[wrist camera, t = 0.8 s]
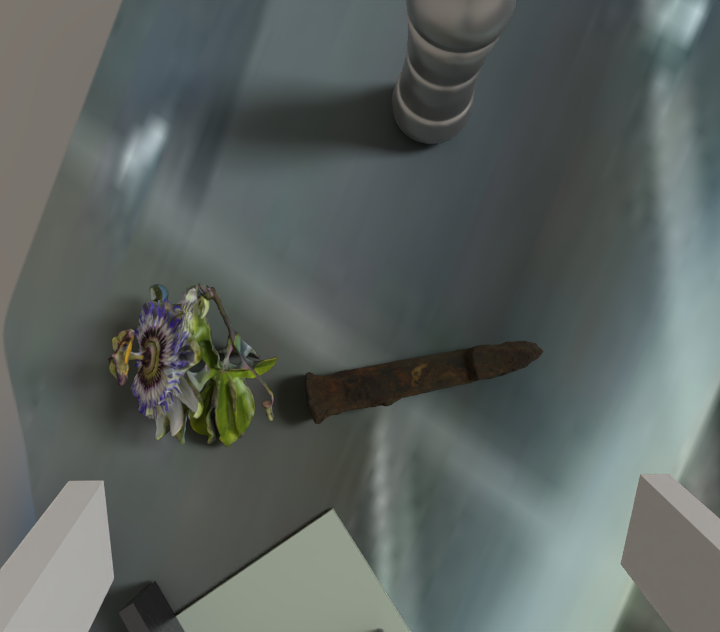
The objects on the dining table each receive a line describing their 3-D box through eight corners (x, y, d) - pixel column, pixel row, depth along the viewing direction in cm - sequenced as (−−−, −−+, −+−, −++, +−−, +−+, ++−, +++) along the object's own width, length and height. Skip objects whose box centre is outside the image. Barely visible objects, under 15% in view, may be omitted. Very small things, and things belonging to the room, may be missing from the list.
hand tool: (313, 421, 43) (307, 427, 38) (305, 373, 43) (299, 372, 39) (539, 385, 43) (561, 386, 39) (529, 337, 44) (550, 332, 39)
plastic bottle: (409, 71, 46) (446, -163, 26) (478, 103, 46) (568, -110, 26) (377, 132, 46) (390, -60, 26) (447, 165, 45) (515, -4, 25)
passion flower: (188, 363, 48) (108, 275, 40) (298, 339, 47) (240, 241, 38) (165, 479, 41) (60, 402, 32) (295, 455, 39) (222, 367, 30)
